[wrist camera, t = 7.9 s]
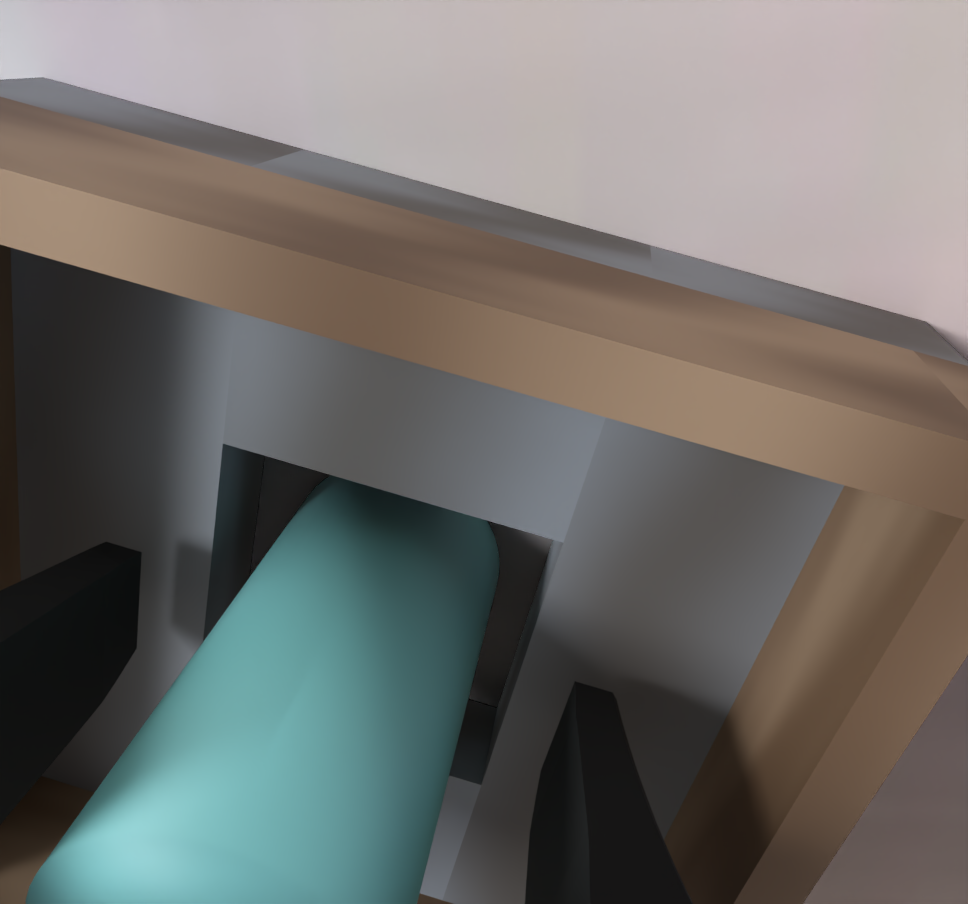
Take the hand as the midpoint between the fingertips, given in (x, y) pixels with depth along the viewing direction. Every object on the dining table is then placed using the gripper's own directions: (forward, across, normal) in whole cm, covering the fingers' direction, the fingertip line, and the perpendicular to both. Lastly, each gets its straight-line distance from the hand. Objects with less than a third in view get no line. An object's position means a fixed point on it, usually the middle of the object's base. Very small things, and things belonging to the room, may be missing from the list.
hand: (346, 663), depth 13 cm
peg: (+3, 0, 0) cm, 3 cm away
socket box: (+3, 0, 0) cm, 3 cm away
